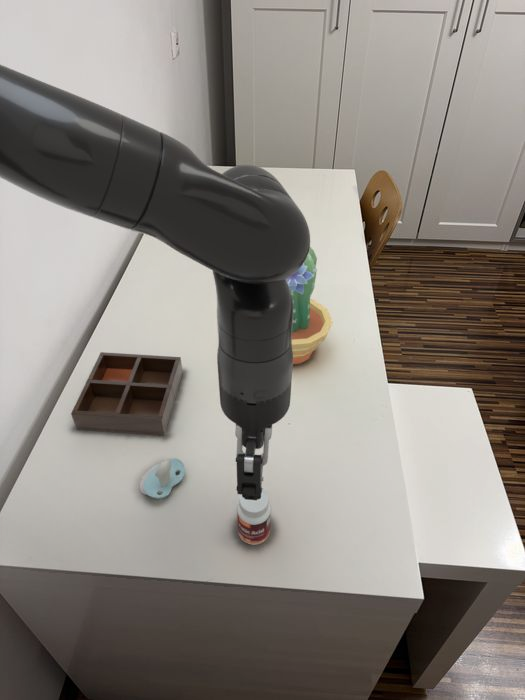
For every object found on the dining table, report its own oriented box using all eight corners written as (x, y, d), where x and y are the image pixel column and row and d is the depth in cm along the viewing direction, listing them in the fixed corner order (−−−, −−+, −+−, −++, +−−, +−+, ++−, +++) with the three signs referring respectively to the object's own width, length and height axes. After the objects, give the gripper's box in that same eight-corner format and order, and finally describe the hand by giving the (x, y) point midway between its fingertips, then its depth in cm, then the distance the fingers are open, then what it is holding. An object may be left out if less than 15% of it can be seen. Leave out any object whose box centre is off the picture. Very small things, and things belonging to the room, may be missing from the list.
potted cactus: (237, 353, 101) (233, 244, 84) (281, 316, 110) (286, 210, 93) (300, 387, 94) (310, 275, 77) (342, 344, 103) (359, 236, 86)
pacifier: (131, 491, 77) (160, 509, 75) (122, 467, 73) (154, 485, 71) (162, 458, 82) (191, 474, 79) (156, 433, 78) (186, 449, 75)
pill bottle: (234, 542, 71) (232, 511, 65) (241, 512, 75) (240, 480, 69) (267, 548, 70) (268, 517, 65) (272, 517, 74) (274, 486, 68)
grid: (164, 435, 85) (161, 420, 82) (76, 429, 86) (70, 413, 83) (182, 372, 97) (180, 357, 94) (105, 367, 98) (100, 352, 95)
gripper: (228, 325, 56) (232, 419, 67) (206, 423, 46) (216, 516, 57) (294, 329, 56) (288, 423, 67) (288, 429, 45) (282, 521, 56)
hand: (255, 465), depth 62 cm, fingers open, 8 cm apart
